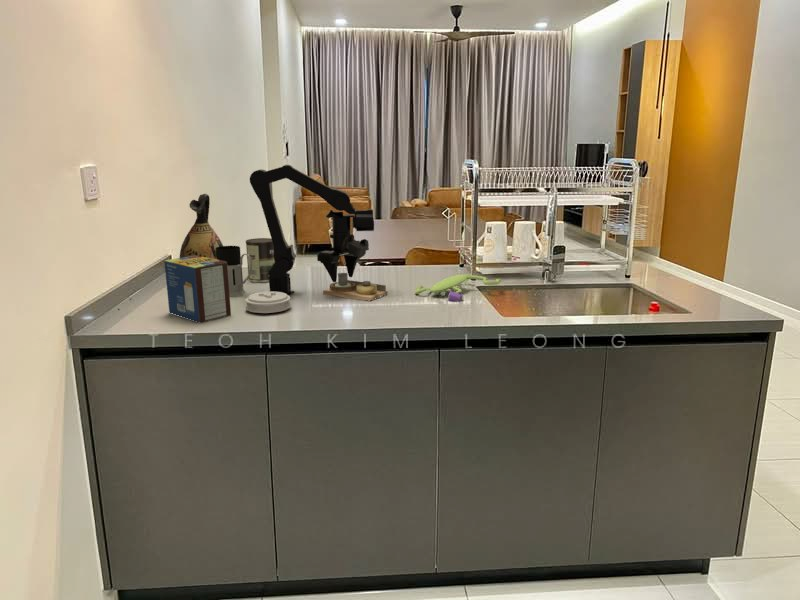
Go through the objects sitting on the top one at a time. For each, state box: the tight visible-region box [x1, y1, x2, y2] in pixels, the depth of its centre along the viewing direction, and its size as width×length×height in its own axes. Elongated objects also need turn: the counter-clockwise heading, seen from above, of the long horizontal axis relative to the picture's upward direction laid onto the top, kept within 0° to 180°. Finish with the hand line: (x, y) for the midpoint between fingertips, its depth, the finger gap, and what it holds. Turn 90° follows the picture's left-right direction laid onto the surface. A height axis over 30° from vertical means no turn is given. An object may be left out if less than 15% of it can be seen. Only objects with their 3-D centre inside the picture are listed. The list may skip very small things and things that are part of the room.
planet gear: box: [335, 272, 351, 287], centre depth 196 cm, size 5×5×5 cm
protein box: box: [163, 256, 232, 323], centre depth 170 cm, size 10×15×16 cm
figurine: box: [414, 273, 502, 302], centre depth 196 cm, size 18×27×6 cm
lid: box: [245, 291, 291, 314], centre depth 176 cm, size 13×13×5 cm
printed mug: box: [245, 237, 275, 283], centre depth 214 cm, size 10×10×14 cm
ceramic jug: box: [179, 193, 224, 259], centre depth 212 cm, size 17×15×30 cm
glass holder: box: [216, 245, 252, 298], centre depth 192 cm, size 9×14×15 cm, turn 59°
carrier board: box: [322, 279, 388, 302], centre depth 194 cm, size 10×18×5 cm, turn 59°
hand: (342, 279), depth 196 cm, fingers open, 8 cm apart
